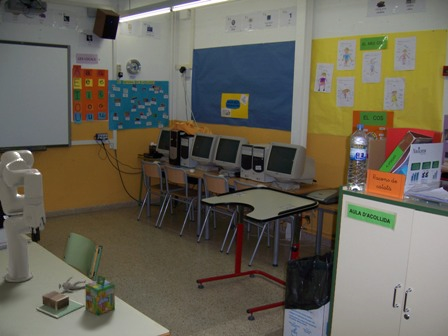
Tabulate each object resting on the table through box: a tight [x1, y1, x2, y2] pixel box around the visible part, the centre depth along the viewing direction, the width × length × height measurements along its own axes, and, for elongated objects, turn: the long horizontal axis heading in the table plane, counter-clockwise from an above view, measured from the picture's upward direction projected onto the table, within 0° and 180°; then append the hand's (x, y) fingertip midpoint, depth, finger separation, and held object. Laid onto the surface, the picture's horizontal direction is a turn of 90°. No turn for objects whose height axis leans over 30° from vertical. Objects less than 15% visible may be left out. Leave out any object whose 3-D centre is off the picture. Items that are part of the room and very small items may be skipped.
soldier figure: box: [58, 276, 87, 293], centre depth 222 cm, size 8×5×12 cm
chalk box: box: [84, 274, 116, 316], centre depth 203 cm, size 9×9×15 cm
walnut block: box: [41, 290, 70, 310], centre depth 206 cm, size 4×6×10 cm
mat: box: [35, 298, 85, 320], centre depth 204 cm, size 14×14×1 cm
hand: (35, 240), depth 208 cm, fingers closed
